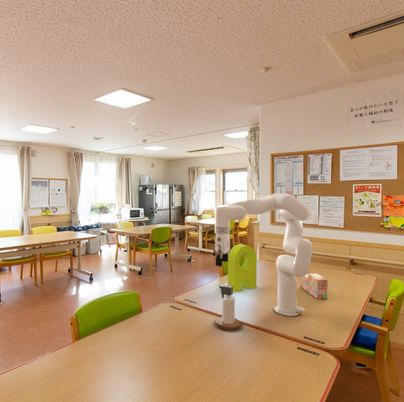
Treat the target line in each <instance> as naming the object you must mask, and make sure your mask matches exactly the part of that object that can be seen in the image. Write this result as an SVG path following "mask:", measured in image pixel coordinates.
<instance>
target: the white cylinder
mask: <svg viewBox="0 0 404 402" xmlns="http://www.w3.org/2000/svg"><path fill="white" fill-rule="evenodd" d="M218 288H219V289H220V294H221V299H222V300H221V304H222V305H221V313H222V314H221V316H220V317H217V318H216V320H217V324H218V325H219V326H221V327H224V328H230V329H233V328H238V327H239V326H240V322H241V321H240V320H239V319H238V318H235V312H236V310H235V309H236V308H235V307H236V304H235V303H236V300H235V299H236V298H235V297H233V294H234V292H233V286H231V285H228V284H225V283H223V284H220V285H219V286H218Z"/></svg>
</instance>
